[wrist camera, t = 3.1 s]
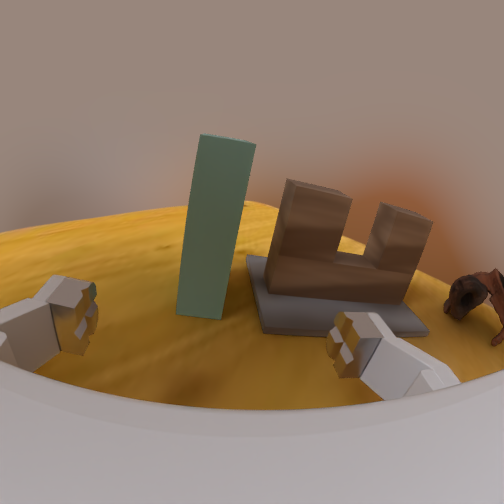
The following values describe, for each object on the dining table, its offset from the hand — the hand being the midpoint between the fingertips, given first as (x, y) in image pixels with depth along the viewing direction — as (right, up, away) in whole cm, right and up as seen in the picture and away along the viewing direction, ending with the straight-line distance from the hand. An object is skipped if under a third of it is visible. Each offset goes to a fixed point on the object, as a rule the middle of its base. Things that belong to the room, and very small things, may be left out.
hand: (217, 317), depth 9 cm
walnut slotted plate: (+9, -2, +18) cm, 20 cm away
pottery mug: (+27, -7, +17) cm, 32 cm away
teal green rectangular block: (-3, -1, +14) cm, 14 cm away
